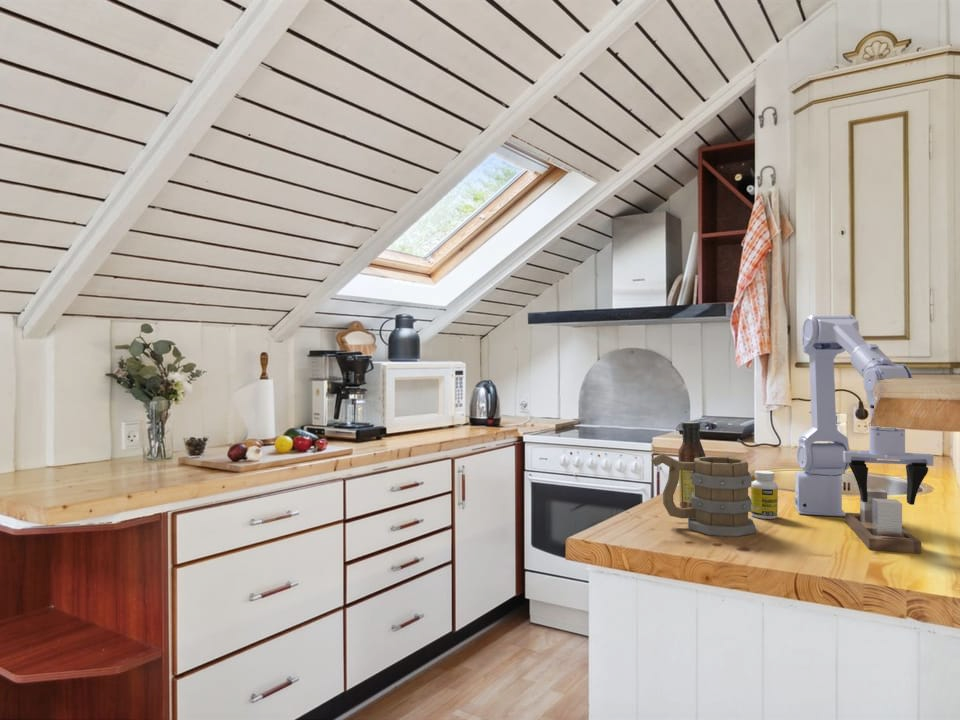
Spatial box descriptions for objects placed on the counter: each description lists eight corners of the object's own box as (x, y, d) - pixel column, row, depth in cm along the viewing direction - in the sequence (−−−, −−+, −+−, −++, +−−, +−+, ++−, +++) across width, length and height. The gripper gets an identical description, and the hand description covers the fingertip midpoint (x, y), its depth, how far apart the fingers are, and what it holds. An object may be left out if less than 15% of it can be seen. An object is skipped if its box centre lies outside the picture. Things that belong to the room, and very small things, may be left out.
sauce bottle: (713, 510, 159) (713, 422, 159) (690, 512, 157) (690, 423, 157) (694, 504, 165) (694, 420, 165) (672, 506, 163) (672, 421, 163)
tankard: (750, 523, 147) (750, 451, 147) (757, 538, 135) (757, 460, 135) (652, 517, 152) (652, 448, 152) (650, 531, 140) (650, 456, 140)
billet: (877, 545, 129) (877, 502, 129) (872, 540, 133) (872, 498, 133) (902, 547, 128) (902, 503, 128) (896, 541, 132) (896, 499, 132)
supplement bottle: (761, 520, 150) (761, 474, 149) (745, 514, 155) (745, 470, 155) (783, 518, 151) (783, 473, 151) (766, 513, 156) (766, 469, 156)
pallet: (869, 549, 127) (869, 505, 127) (845, 522, 148) (845, 484, 148) (921, 553, 124) (921, 508, 124) (889, 524, 145) (889, 486, 145)
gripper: (848, 430, 129) (848, 504, 129) (939, 433, 124) (938, 509, 125) (841, 426, 136) (840, 496, 136) (926, 429, 131) (926, 501, 131)
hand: (887, 502), depth 131 cm, fingers open, 7 cm apart
